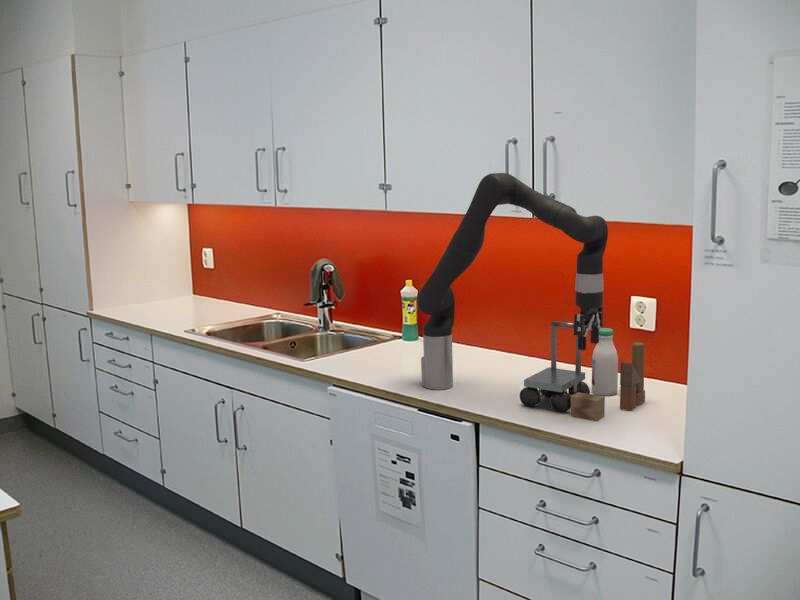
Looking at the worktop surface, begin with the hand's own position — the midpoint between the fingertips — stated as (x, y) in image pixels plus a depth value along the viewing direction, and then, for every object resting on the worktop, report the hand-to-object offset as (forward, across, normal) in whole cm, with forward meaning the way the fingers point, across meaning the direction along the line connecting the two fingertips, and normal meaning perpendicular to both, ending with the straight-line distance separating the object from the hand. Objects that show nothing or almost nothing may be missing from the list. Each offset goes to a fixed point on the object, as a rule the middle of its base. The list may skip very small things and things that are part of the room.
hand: (588, 346), depth 236 cm
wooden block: (+20, -16, +7) cm, 27 cm away
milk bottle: (+21, -24, -5) cm, 32 cm away
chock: (+20, 0, 0) cm, 20 cm away
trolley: (+20, -6, -13) cm, 25 cm away
